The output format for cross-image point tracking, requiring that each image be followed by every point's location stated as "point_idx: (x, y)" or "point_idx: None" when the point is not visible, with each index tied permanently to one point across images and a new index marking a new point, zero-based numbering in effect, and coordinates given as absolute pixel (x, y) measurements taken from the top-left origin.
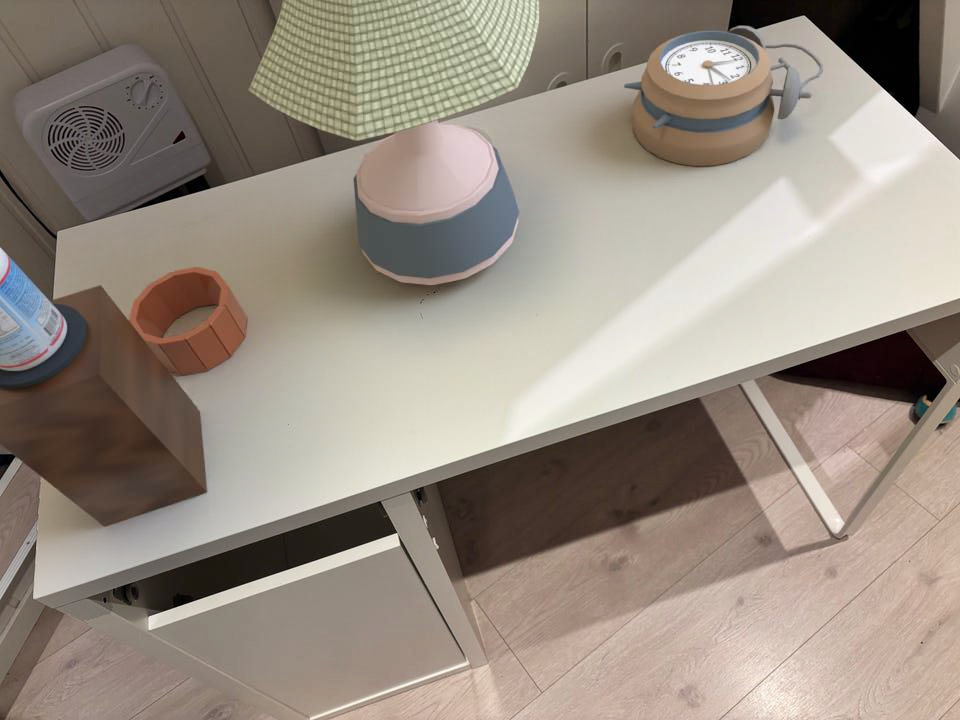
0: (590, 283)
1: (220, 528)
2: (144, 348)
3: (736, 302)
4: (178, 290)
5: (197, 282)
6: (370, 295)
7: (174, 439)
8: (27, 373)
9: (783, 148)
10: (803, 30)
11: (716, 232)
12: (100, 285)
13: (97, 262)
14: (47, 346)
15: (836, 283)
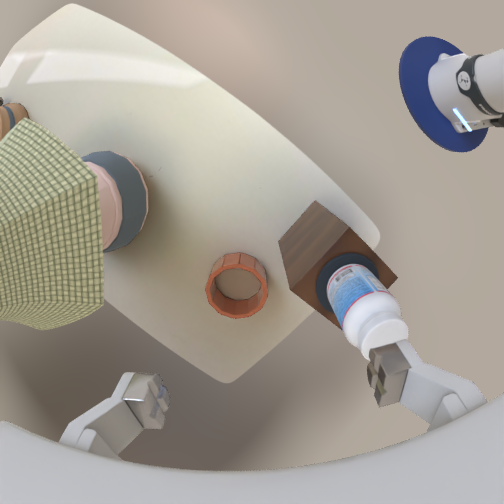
0: (102, 105)
1: (326, 179)
2: (289, 260)
3: (91, 47)
4: (225, 305)
5: (215, 299)
6: (162, 207)
7: (314, 216)
8: (368, 267)
9: (14, 95)
10: None
11: (58, 80)
12: (290, 289)
13: (230, 363)
14: (354, 266)
15: (72, 28)
